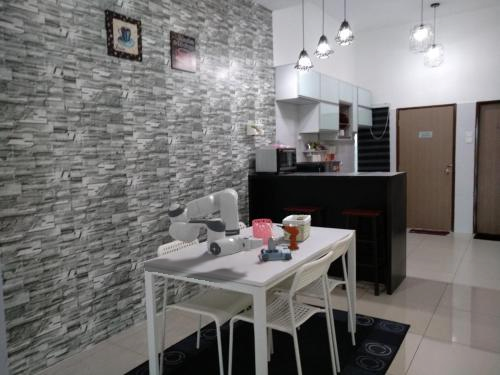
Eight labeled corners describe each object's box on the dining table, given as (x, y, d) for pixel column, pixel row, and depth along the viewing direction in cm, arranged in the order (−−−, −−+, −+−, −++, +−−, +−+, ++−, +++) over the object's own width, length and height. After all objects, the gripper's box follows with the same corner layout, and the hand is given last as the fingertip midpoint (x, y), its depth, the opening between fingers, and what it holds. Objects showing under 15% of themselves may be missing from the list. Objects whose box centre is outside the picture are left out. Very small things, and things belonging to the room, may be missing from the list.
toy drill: (278, 242, 256) (279, 220, 253) (300, 250, 242) (302, 227, 240) (273, 243, 252) (274, 221, 250) (295, 251, 239) (297, 228, 236)
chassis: (261, 261, 218) (260, 255, 218) (259, 254, 232) (259, 248, 232) (292, 259, 219) (292, 253, 218) (289, 253, 233) (289, 247, 232)
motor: (268, 256, 223) (267, 238, 222) (267, 254, 227) (267, 236, 226) (276, 256, 223) (276, 237, 222) (275, 254, 228) (275, 235, 226)
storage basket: (290, 234, 288) (289, 214, 286) (312, 234, 282) (311, 214, 281) (282, 241, 265) (281, 220, 264) (305, 242, 260) (305, 220, 258)
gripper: (226, 245, 214) (245, 241, 223) (251, 251, 199) (270, 246, 208) (225, 234, 213) (244, 230, 223) (250, 239, 198) (269, 235, 207)
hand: (257, 238), depth 215 cm, fingers open, 8 cm apart
